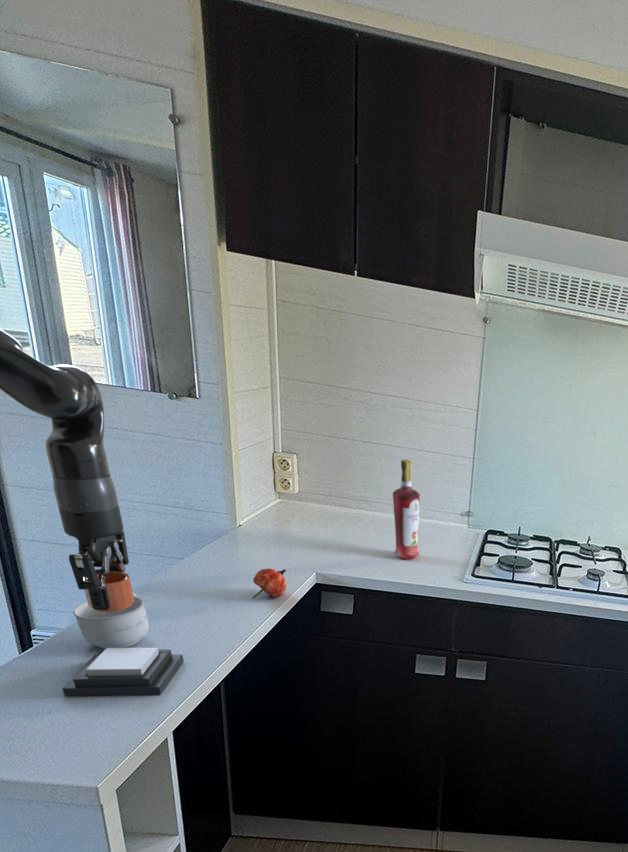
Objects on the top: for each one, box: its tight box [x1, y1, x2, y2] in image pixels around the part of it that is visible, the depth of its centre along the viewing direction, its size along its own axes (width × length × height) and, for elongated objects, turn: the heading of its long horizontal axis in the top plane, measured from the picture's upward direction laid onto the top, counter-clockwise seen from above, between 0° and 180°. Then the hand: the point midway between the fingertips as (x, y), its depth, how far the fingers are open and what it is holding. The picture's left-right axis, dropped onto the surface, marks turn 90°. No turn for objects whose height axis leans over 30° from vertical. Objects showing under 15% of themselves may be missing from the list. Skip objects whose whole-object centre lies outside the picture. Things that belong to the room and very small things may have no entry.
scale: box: [62, 648, 184, 697], centre depth 111 cm, size 14×12×3 cm
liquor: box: [392, 459, 421, 561], centre depth 178 cm, size 7×7×28 cm
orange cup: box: [83, 571, 134, 612], centre depth 105 cm, size 6×6×5 cm
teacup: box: [73, 592, 150, 649], centre depth 121 cm, size 14×11×8 cm
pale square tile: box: [86, 647, 159, 676], centre depth 110 cm, size 8×8×2 cm
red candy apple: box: [251, 568, 288, 600], centre depth 147 cm, size 7×7×10 cm
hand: (111, 600), depth 105 cm, fingers closed on orange cup, 6 cm apart
